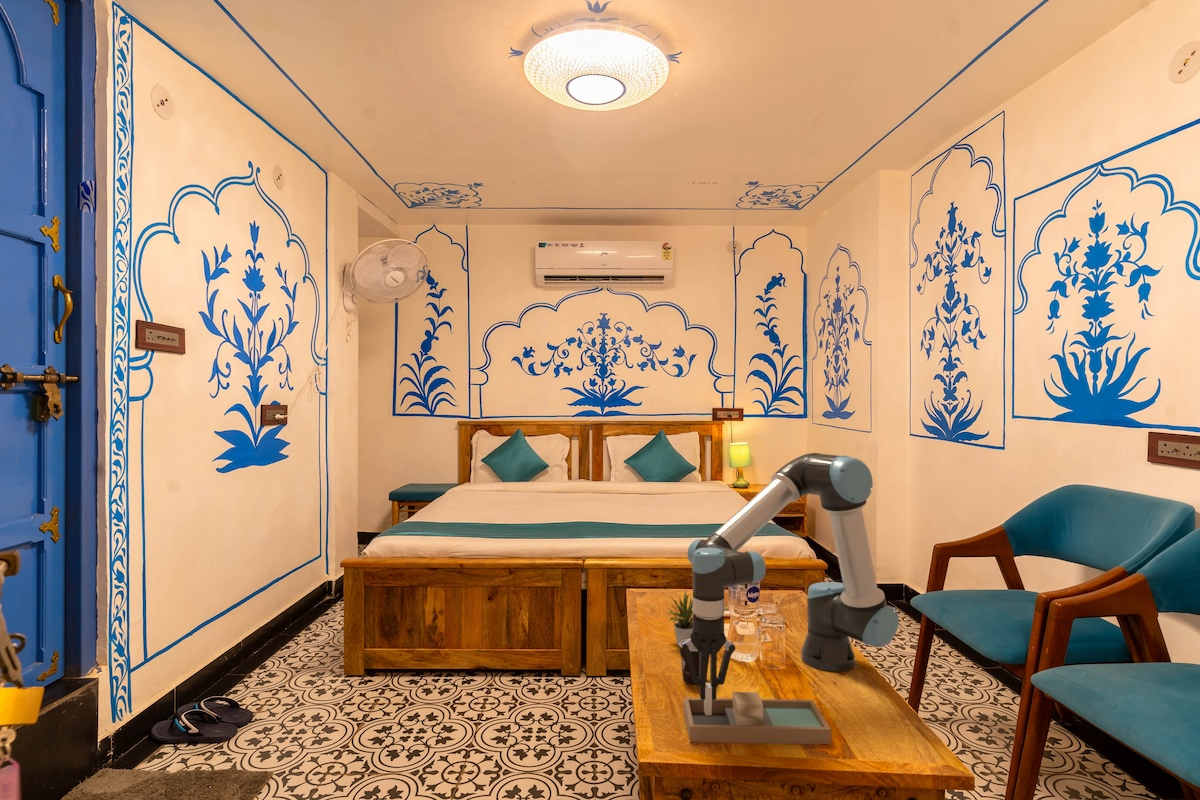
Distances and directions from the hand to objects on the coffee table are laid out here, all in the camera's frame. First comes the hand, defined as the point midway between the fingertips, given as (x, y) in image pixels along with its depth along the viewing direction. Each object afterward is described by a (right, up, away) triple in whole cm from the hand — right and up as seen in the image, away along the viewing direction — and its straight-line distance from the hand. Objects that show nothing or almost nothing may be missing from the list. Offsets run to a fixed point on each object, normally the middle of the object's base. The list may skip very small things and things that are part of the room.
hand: (707, 712), depth 154 cm
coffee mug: (+1, -3, +26) cm, 26 cm away
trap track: (+11, -4, 0) cm, 12 cm away
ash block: (+9, -2, 0) cm, 10 cm away
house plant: (+1, -3, +51) cm, 51 cm away
